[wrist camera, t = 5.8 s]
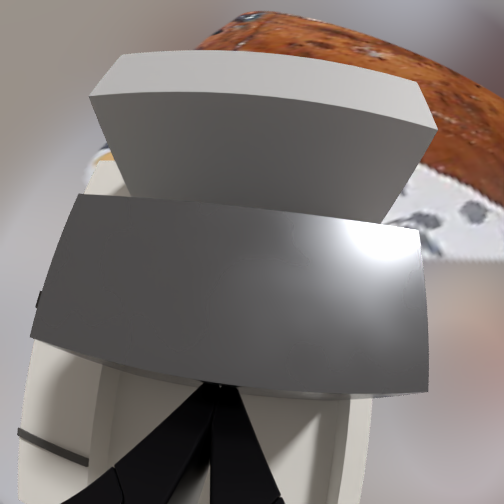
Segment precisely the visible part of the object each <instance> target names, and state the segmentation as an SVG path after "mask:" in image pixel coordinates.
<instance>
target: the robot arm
mask: <svg viewBox="0 0 504 504" xmlns="http://www.w3.org/2000/svg"><path fill="white" fill-rule="evenodd" d="M209 466H210V504H285V502H284V499H283V498H282V497H280V496H281V493H280V491H279V489H278V486H277V484H276V482H275V479H274V477H273V475H272V472H271V470H270V468H269V465H268V463H267V461H266V458H265V456H264V453H263V451H262V448H261V446H260V444H259V441H258V439H257V436H256V434H255V431H254V429H253V426H252V424H251V421H250V419H249V416H248V413H247V411H246V408H245V406H244V403H243V400H242V398H241V395H240V392H239V390H238V388H234V387H227V386H221V387H220V386H219V385H213V384H206V383H203V384H202V385H200V386H199V387H198V388H197V389H196V390H195V391H194V392H193V393H192V394H191V395H190V396H189V397H188V398H187V399H186V400H185V401H184V402H183V403H182V404H181V405H180V406H179V407H177V408H176V409H175V410H174V411H173V412H172V413H171V414H170V415H169V416H168V417H167V418H166V419H165V420H164V421H162V422H161V423H160V424H159V425H158V426H157V427H156V428H155V429H154V430H153V431H152V432H150V433H149V434H148V435H147V436H146V437H145V438H144V439H143V440H142V441H140V442H139V443H138V444H137V445H136V446H135V447H134V448H133V449H131V450H130V451H129V452H128V453H127V454H126V455H125V456H124V457H122V458H121V459H120V460H119V461H118V462H117V463H115V464H114V467H111V468H109V469H108V470H107V471H106V472H105V473H104V474H102V475H101V476H100V477H99V478H97V479H96V480H95V481H94V482H92V483H91V484H90V485H88V486H87V487H86V488H84V489H83V490H81V491H80V492H78V493H77V494H75V495H74V496H72V497H70V498H69V499H67V500H66V501H64V502H62V503H60V504H198V501H199V498H200V495H201V492H202V489H203V486H204V482H205V479H206V476H207V473H208V470H209Z"/></svg>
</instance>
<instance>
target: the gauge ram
mask: <svg viewBox="0 0 504 504" xmlns="http://www.w3.org/2000/svg"><path fill="white" fill-rule="evenodd" d="M425 291H426V290H425V279H424V270H423V261H422V253H421V246H420V239H419V232H418V230H412V229H406V228H399V227H393V226H387V225H380V224H374V223H367V222H360V221H353V220H346V219H339V218H332V217H324V216H317V215H309V214H301V213H293V212H285V211H276V210H268V209H259V208H250V207H240V206H231V205H221V204H211V203H200V202H189V201H178V200H166V199H153V198H140V197H126V196H110V195H93V194H78V197H77V199H76V201H75V203H74V205H73V208H72V210H71V212H70V215H69V217H68V220H67V222H66V225H65V227H64V230H63V232H62V235H61V237H60V240H59V243H58V245H57V248H56V251H55V254H54V256H53V259H52V262H51V265H50V268H49V271H48V274H47V277H46V280H45V283H44V286H43V290H42V291H40V293H39V297H38V300H37V303H36V308H37V311H36V315H35V318H34V322H33V326H32V330H31V334H30V337H31V338H33V339H36V340H38V341H40V342H43V343H45V344H48V345H50V346H53V347H55V348H58V349H60V350H63V351H65V352H68V353H71V354H73V355H76V356H79V357H82V358H84V359H87V360H90V361H93V362H96V363H99V364H102V365H105V366H108V367H111V368H114V369H117V370H121V371H124V372H127V373H130V374H134V375H137V376H141V377H146V378H151V379H155V380H160V381H165V382H170V383H175V384H180V385H186V386H192V387H197V388H198V387H199V386H200V385H202V384H203V383H206V384H213V385H219V386H220V387H221V386H227V387H234V388H238V390H239V392H240V394H247V395H256V396H266V397H276V398H289V399H304V400H325V401H334V400H354V399H369V398H381V397H391V396H400V395H408V394H416V393H424V392H428V377H429V372H428V371H429V353H428V352H429V346H428V318H427V304H426V292H425Z"/></svg>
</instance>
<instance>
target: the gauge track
mask: <svg viewBox="0 0 504 504" xmlns="http://www.w3.org/2000/svg"><path fill="white" fill-rule="evenodd" d="M89 98H90V101H91V104H92V106H93V109H94V111H95V114H96V116H97V119H98V121H99V124H100V126H101V129H102V131H103V134H104V136H105V138H106V141H107V143H108V146H109V148H110V150H111V153H112V155H113V157H114V160H115V161H99V162H98V164H97V166H96V169H95V171H94V173H93V175H92V177H91V179H90V181H89V183H88V185H87V188H86V190H85V192H84V194H93V195H110V196H126V197H140V198H153V199H166V200H178V201H189V202H200V203H211V204H221V205H231V206H240V207H250V208H259V209H268V210H276V211H285V212H293V213H301V214H309V215H317V216H324V217H332V218H339V219H346V220H353V221H360V222H367V223H374V224H381V222H382V221H383V219H384V217H385V216H386V214H387V213H388V211H389V210H390V208H391V207H392V205H393V204H394V202H395V201H396V199H397V197H398V196H399V194H400V193H401V191H402V190H403V188H404V186H405V185H406V183H407V182H408V180H409V178H410V177H411V175H412V173H413V172H414V170H415V168H416V167H417V165H418V163H419V162H420V160H421V158H422V157H423V155H424V153H425V152H426V150H427V148H428V146H429V145H430V143H431V141H432V139H433V138H434V136H435V134H436V132H437V131H438V129H437V126H436V124H435V122H434V119H433V117H432V114H431V112H430V110H429V108H428V105H427V103H426V101H425V99H424V96H423V94H422V92H421V90H420V88H419V86H418V84H417V82H414V81H410V80H407V79H404V78H400V77H396V76H393V75H389V74H385V73H381V72H377V71H373V70H369V69H365V68H360V67H355V66H351V65H346V64H341V63H335V62H330V61H324V60H318V59H311V58H304V57H297V56H289V55H280V54H270V53H258V52H243V51H217V50H188V51H161V52H146V53H134V54H125V55H121V56H120V58H118V60H117V61H116V62H115V63H114V65H113V66H112V67H111V68H110V69H109V71H108V72H107V73H106V75H105V76H104V77H103V78H102V79H101V81H100V82H99V83H98V85H97V86H96V87H95V89H94V90H93V91H92V93H91V94H90V95H89ZM196 389H197V387H192V386H186V385H180V384H175V383H170V382H165V381H160V380H155V379H151V378H146V377H141V376H137V375H134V374H130V373H127V372H124V371H121V370H117V369H114V368H111V367H108V366H105V365H102V364H99V363H96V362H93V361H90V360H87V359H84V358H82V357H79V356H76V355H73V354H71V353H68V352H65V351H63V350H60V349H58V348H55V347H53V346H50V345H48V344H45V343H43V342H40V341H38V340H36V339H35V340H34V345H33V350H32V354H31V359H30V364H29V369H28V375H27V381H26V387H25V394H24V401H23V408H22V418H21V427H20V428H18V434H17V435H18V436H20V439H19V456H18V457H19V458H18V499H19V500H20V501H22V502H24V503H25V504H60V503H62V502H64V501H66V500H67V499H69V498H70V497H72V496H74V495H75V494H77V493H78V492H80V491H81V490H83V489H84V488H86V487H87V486H88V485H90V484H91V483H92V482H94V481H95V480H96V479H97V478H99V477H100V476H101V475H102V474H104V473H105V472H106V471H107V470H108V469H109V468H111V467H114V464H115V463H117V462H118V461H119V460H120V459H121V458H122V457H124V456H125V455H126V454H127V453H128V452H129V451H130V450H131V449H133V448H134V447H135V446H136V445H137V444H138V443H139V442H140V441H142V440H143V439H144V438H145V437H146V436H147V435H148V434H149V433H150V432H152V431H153V430H154V429H155V428H156V427H157V426H158V425H159V424H160V423H161V422H162V421H164V420H165V419H166V418H167V417H168V416H169V415H170V414H171V413H172V412H173V411H174V410H175V409H176V408H177V407H179V406H180V405H181V404H182V403H183V402H184V401H185V400H186V399H187V398H188V397H189V396H190V395H191V394H192V393H193V392H194V391H195V390H196ZM240 395H241V398H242V400H243V403H244V406H245V408H246V411H247V413H248V416H249V419H250V421H251V424H252V426H253V429H254V431H255V434H256V436H257V439H258V441H259V444H260V446H261V448H262V451H263V453H264V456H265V458H266V461H267V463H268V465H269V468H270V470H271V472H272V475H273V477H274V479H275V482H276V484H277V486H278V489H279V491H280V493H281V496H280V497H282V498H283V499H284V502H285V504H359V503H360V497H361V491H362V485H363V479H364V472H365V464H366V458H367V450H368V441H369V432H370V422H371V409H372V398H369V399H354V400H334V401H325V400H304V399H289V398H276V397H266V396H256V395H247V394H240ZM198 504H210V466H209V470H208V473H207V476H206V479H205V482H204V486H203V489H202V492H201V495H200V498H199V501H198Z"/></svg>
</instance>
